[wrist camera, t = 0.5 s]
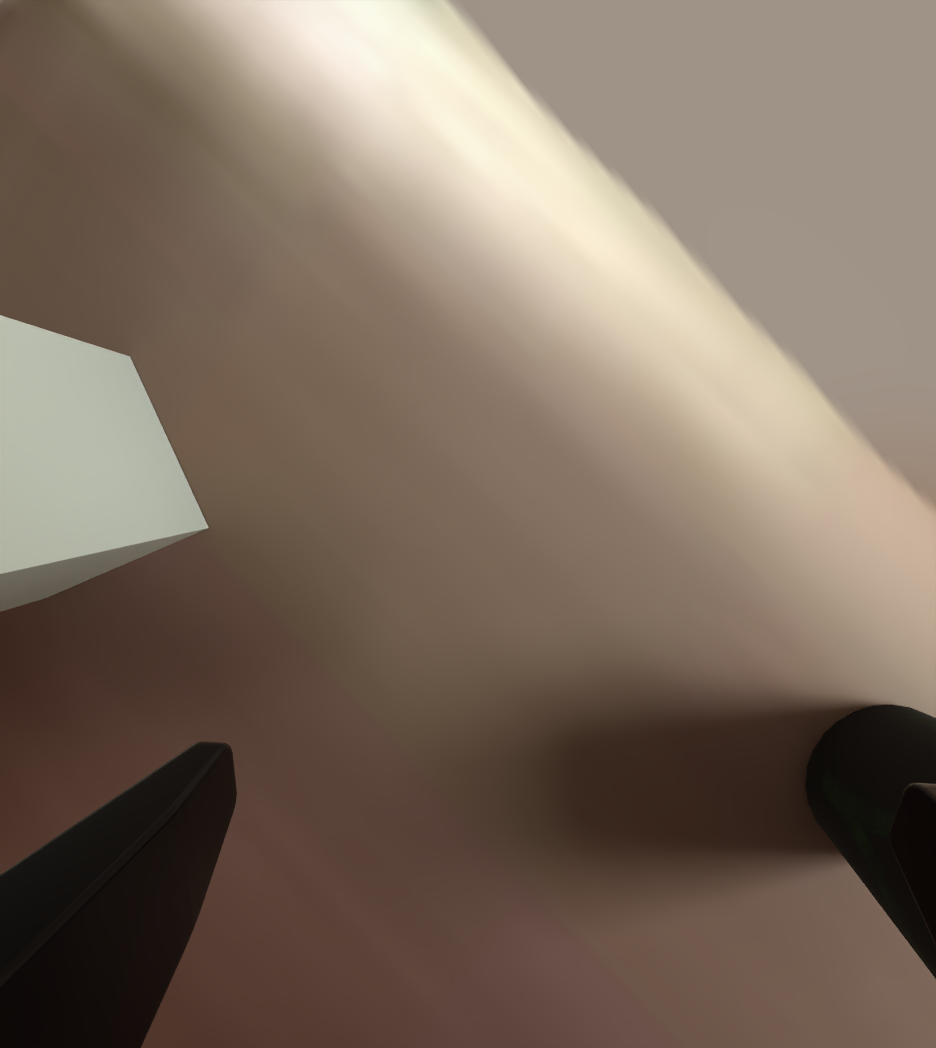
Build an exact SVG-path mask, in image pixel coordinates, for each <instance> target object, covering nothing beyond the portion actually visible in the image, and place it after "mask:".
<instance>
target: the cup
mask: <svg viewBox="0 0 936 1048" xmlns="http://www.w3.org/2000/svg"><path fill="white" fill-rule="evenodd" d="M912 783H926V784H936V718H934V717H932V716H929V715H927V714H925V713H922V712H920V711H917V710H915V709H913V708H909V707H903V706H897V705H882V706H872V707H868V708H865V709H862V710H859V711H856V712H853V713H852V714H850V715H848V716H846V717H845V718H843V719H841V720H839V721H838V722H837V723H836V724H834V725H833V726H832V727H831V728H830V729H829V730H828V731H827V732H826V733H825V734H824V735H823V736H822V738H821V739H820V741H819V743H818V744H817V746H816V747H815V749H814V750H813V753H812V756H811V758H810V761H809V764H808V767H807V775H806V792H807V798H808V803H809V806H810V808H811V810H812V812H813V815H814V817H815V819H816V821H817V822H818V823H819V825H820V826H821V827H822V829H823V830H824V831H825V833H826V834H827V835H828V836H829V838H830V839H831V840H832V842H833V843H834V844H835V846H836V847H837V848H838V850H839V851H840V852H841V854H842V855H843V856H844V858H845V859H846V860H847V862H848V863H849V864H850V866H851V867H852V868H853V870H854V871H855V872H856V874H857V875H858V876H859V878H860V879H861V880H862V882H863V883H864V884H865V886H866V887H867V888H868V890H869V891H870V892H871V893H872V895H873V896H874V897H875V899H876V900H877V901H878V903H879V904H880V905H881V907H882V908H883V909H884V911H885V912H886V913H887V915H888V916H889V917H890V919H891V920H892V921H893V923H894V924H895V925H896V927H897V928H898V929H899V931H900V932H901V933H902V935H903V936H904V937H905V939H906V940H907V941H908V943H909V944H910V945H911V946H912V948H913V949H914V950H915V952H916V953H917V954H918V956H919V957H920V958H921V960H922V961H923V962H924V964H925V965H926V966H927V968H928V969H929V970H930V972H931V973H932V974H933V976H934V977H935V978H936V946H935V943H934V941H933V939H932V937H931V935H930V932H929V930H928V928H927V926H926V924H925V921H924V919H923V917H922V915H921V913H920V910H919V908H918V906H917V904H916V902H915V899H914V897H913V895H912V893H911V890H910V888H909V886H908V884H907V882H906V879H905V877H904V875H903V873H902V871H901V868H900V866H899V864H898V862H897V860H896V857H895V855H894V853H893V850H892V847H891V844H890V837H889V835H890V827H891V824H892V821H893V819H894V816H895V813H896V810H897V808H898V805H899V802H900V799H901V797H902V794H903V791H904V789H905V788H906V787H907V786H908V785H909V784H912Z"/></svg>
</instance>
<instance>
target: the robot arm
mask: <svg viewBox="0 0 936 1048" xmlns="http://www.w3.org/2000/svg"><path fill="white" fill-rule="evenodd" d="M236 796H237V790H236V780H235V771H234V762H233V753H232V749H231V747H230V746H229V745H228V744H226V743H219V742H198V743H196V744H194V745H193V746H191V747H190V748H188V749H187V750H185V751H184V752H182V753H181V754H179V755H178V756H176V757H175V758H173V759H172V760H170V761H169V762H167V763H166V764H164V765H163V766H161V767H160V768H158V769H157V770H155V771H154V772H152V773H151V774H149V775H148V776H146V777H145V778H143V779H142V780H140V781H139V782H137V783H136V784H134V785H133V786H132V787H130V788H129V789H127V790H126V791H124V792H123V793H121V794H120V795H118V796H117V797H115V798H114V799H112V800H111V801H109V802H108V803H106V804H105V805H103V806H102V807H100V808H99V809H97V810H96V811H94V812H93V813H91V814H90V815H88V816H87V817H85V818H84V819H82V820H81V821H79V822H78V823H76V824H75V825H73V826H72V827H70V828H69V829H67V830H66V831H64V832H63V833H62V834H60V835H59V836H57V837H56V838H54V839H53V840H51V841H50V842H48V843H47V844H45V845H44V846H42V847H41V848H39V849H38V850H36V851H35V852H33V853H32V854H30V855H29V856H27V857H26V858H24V859H23V860H21V861H20V862H18V863H17V864H15V865H14V866H12V867H11V868H9V869H8V870H6V871H5V872H3V873H2V874H0V1048H141V1046H142V1044H143V1042H144V1039H145V1037H146V1035H147V1033H148V1031H149V1028H150V1026H151V1024H152V1022H153V1019H154V1017H155V1015H156V1013H157V1010H158V1008H159V1006H160V1004H161V1002H162V999H163V997H164V995H165V993H166V990H167V988H168V986H169V984H170V982H171V979H172V977H173V975H174V973H175V970H176V968H177V966H178V964H179V961H180V959H181V957H182V955H183V953H184V950H185V948H186V946H187V943H188V941H189V939H190V936H191V934H192V932H193V929H194V927H195V924H196V921H197V918H198V916H199V913H200V910H201V907H202V904H203V901H204V898H205V895H206V892H207V889H208V886H209V883H210V880H211V877H212V874H213V871H214V868H215V865H216V862H217V860H218V857H219V854H220V851H221V848H222V845H223V842H224V839H225V836H226V833H227V830H228V827H229V824H230V821H231V818H232V815H233V812H234V808H235V804H236ZM889 837H890V844H891V847H892V850H893V853H894V855H895V857H896V860H897V862H898V864H899V866H900V868H901V871H902V873H903V875H904V877H905V879H906V882H907V884H908V886H909V888H910V890H911V893H912V895H913V897H914V899H915V902H916V904H917V906H918V908H919V910H920V913H921V915H922V917H923V919H924V921H925V924H926V926H927V928H928V930H929V932H930V935H931V937H932V939H933V941H934V943H935V946H936V784H926V783H912V784H909V785H908V786H907V787H906V788H905V789H904V791H903V794H902V797H901V799H900V802H899V805H898V808H897V810H896V813H895V816H894V819H893V821H892V824H891V827H890V835H889Z"/></svg>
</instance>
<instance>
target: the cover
mask: <svg viewBox="0 0 936 1048" xmlns="http://www.w3.org/2000/svg"><path fill="white" fill-rule="evenodd" d="M205 529H208V525H207V523H206V521H205V519H204V517H203V515H202V512H201V510H200V508H199V506H198V504H197V502H196V499H195V497H194V495H193V493H192V491H191V489H190V486H189V484H188V482H187V480H186V478H185V475H184V473H183V471H182V469H181V467H180V465H179V462H178V460H177V458H176V456H175V454H174V452H173V449H172V447H171V445H170V443H169V441H168V439H167V436H166V434H165V432H164V430H163V428H162V425H161V423H160V421H159V419H158V417H157V415H156V412H155V410H154V408H153V406H152V404H151V402H150V399H149V397H148V395H147V393H146V391H145V388H144V386H143V384H142V382H141V380H140V378H139V375H138V373H137V371H136V369H135V367H134V365H133V362H132V360H131V358H130V357H129V356H126V355H123V354H120V353H117V352H114V351H110V350H107V349H104V348H101V347H98V346H95V345H92V344H88V343H85V342H82V341H79V340H76V339H73V338H70V337H67V336H63V335H60V334H57V333H54V332H51V331H48V330H45V329H41V328H38V327H35V326H32V325H29V324H26V323H23V322H19V321H16V320H13V319H10V318H7V317H4V316H1V315H0V612H1V611H4V610H8V609H11V608H14V607H18V606H21V605H24V604H28V603H31V602H34V601H38V600H41V599H44V598H47V597H50V596H52V595H54V594H57V593H59V592H61V591H64V590H66V589H68V588H71V587H73V586H75V585H78V584H80V583H82V582H85V581H87V580H89V579H92V578H94V577H96V576H98V575H101V574H103V573H105V572H108V571H110V570H112V569H115V568H117V567H119V566H122V565H124V564H126V563H129V562H131V561H133V560H136V559H138V558H140V557H143V556H145V555H147V554H150V553H152V552H154V551H156V550H159V549H161V548H163V547H166V546H168V545H170V544H173V543H175V542H177V541H180V540H182V539H184V538H187V537H189V536H191V535H194V534H196V533H198V532H201V531H203V530H205Z"/></svg>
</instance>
